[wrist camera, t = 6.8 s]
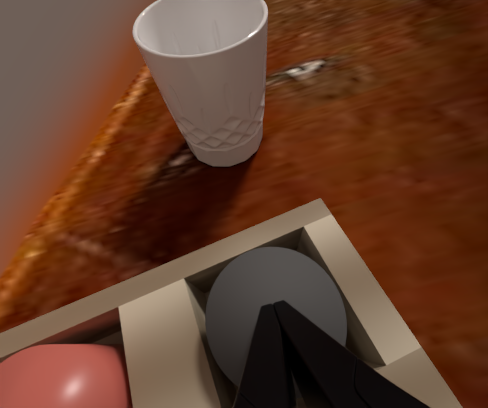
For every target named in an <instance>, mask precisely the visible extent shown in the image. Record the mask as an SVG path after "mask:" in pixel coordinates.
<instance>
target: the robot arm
mask: <svg viewBox="0 0 488 408" xmlns="http://www.w3.org/2000/svg"><path fill="white" fill-rule="evenodd" d="M291 371H292V373H291ZM292 374H293V376H294V379H295V381H296V384H297V386H298V388H299V391H300V393H301V395H302V398H303V400H304V402H305V405H306V407H307V408H431V407H429V406H428V405H426V404H424V403H423V402H421V401H420V400H418V399H417V398H415V397H413V396H412V395H410V394H409V393H407V392H406V391H404V390H403V389H401V388H400V387H398V386H397V385H395V384H394V383H392V382H391V381H389V380H388V379H386V378H385V377H384V376H382V375H381V374H379V373H378V372H377V371H375V370H374V369H373V368H371V367H370V366H369V365H367V364H366V363H365V362H364V361H362V360H361V359H360V358H357V356H356V355H354V354H353V353H352V352H351V351H349V350H348V349H347V348H345V347H344V346H343V345H341V344H340V343H339V342H338V341H336V340H335V339H334V338H332V337H331V336H330V335H329V334H327V333H326V332H325V331H323V330H322V329H321V328H320V327H318V326H317V325H316V324H314V323H313V322H312V321H311V320H309V319H308V318H307V317H305V316H304V315H303V314H302V313H300V312H299V311H298V310H296V309H295V308H294V307H292V306H291V305H290V304H289V303H287V302H286V301H285V300H281V301H277V302H274V303H273V304H271V303H270V304H266V305H263V306H261V308H260V311H259V315H258V318H257V322H256V326H255V329H254V333H253V337H252V340H251V344H250V348H249V351H248V355H247V358H246V362H245V366H244V369H243V373H242V377H241V380H240V384H239V388H238V393H237V394H236V398H235V402H234V405H233V408H298V404H297V399H296V393H295V388H294V382H293V377H292Z"/></svg>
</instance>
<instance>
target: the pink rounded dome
mask: <svg viewBox="0 0 488 408" xmlns="http://www.w3.org/2000/svg"><path fill="white" fill-rule="evenodd" d="M0 408H133V404H132V397H131V390H130V383H129V376H128V369H127V363H126V356H125V349H124V345H123V344H46V345H38V346H33V347H30V348H27V349H24V350H22V351H20V352H18V353H16V354H14V355H12V356H10V357H9V358H7V359H6V360H4V361H3V362H2V363H0Z"/></svg>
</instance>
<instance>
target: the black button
mask: <svg viewBox="0 0 488 408" xmlns="http://www.w3.org/2000/svg"><path fill="white" fill-rule="evenodd" d="M281 300H285V301H286V302H287V303H289V304H290V305H291V306H292V307H294V308H295V309H296V310H298V311H299V312H300V313H302V314H303V315H304V316H305V317H307V318H308V319H309V320H311V321H312V322H313V323H314V324H316V325H317V326H318V327H320V328H321V329H322V330H323V331H325V332H326V333H327V334H329V335H330V336H331V337H332V338H334V339H335V340H336V341H338V342H339V343H340V344H341V345H343V346H344V347H345V344H346V336H347V320H346V312H345V308H344V304H343V301H342V298H341V296H340V293H339V291H338V289H337V287H336V285H335V284H334V282H333V281H332V279H331V278H330V276H329V275H328V274H327V273H326V272H325V270H324V269H323V268H322V267H320V266H319V265H318V264H317V263H316V262H315V261H313V260H312V259H310V258H309V257H307V256H305V255H304V254H302V253H299V252H297V251H294V250H291V249H287V248H282V247H262V248H258V249H254V250H251V251H248V252H246V253H244V254H242V255H240V256H238V257H237V258H236V259H234V260H233V261H232V262H230V263H229V264H228V265H227V266H226V267H225V268H224V269H223V271H222V272H221V273H220V274H219V276H218V277H217V279H216V281H215V282H214V284H213V286H212V289H211V291H210V294H209V297H208V301H207V305H206V313H205V326H206V335H207V339H208V343H209V346H210V349H211V352H212V354H213V356H214V358H215V360H216V362H217V364H218V365H219V367H220V368H221V370H222V371H223V373H224V374H225V375H226V376H227V377H228V378H229V379H230V380H231V381H232V382H233V383H234V384H235V385H237V386H238V387H239V384H240V380H241V377H242V373H243V369H244V366H245V362H246V358H247V355H248V351H249V348H250V344H251V340H252V337H253V333H254V329H255V326H256V322H257V318H258V315H259V311H260V308H261V306H263V305H266V304H270V303H271V304H273V303H274V302H277V301H281ZM291 373H292V371H291ZM292 377H293V382H294V388H295V393H296V399H298V398H301V397H302V395H301V393H300V391H299V388H298V386H297V384H296V381H295V379H294V376H293V374H292Z"/></svg>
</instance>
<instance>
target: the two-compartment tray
mask: <svg viewBox="0 0 488 408" xmlns="http://www.w3.org/2000/svg"><path fill="white" fill-rule="evenodd" d="M262 247H282V248H287V249H291V250H294V251H297V252H299V253H302V254H304V255H305V256H307V257H309V258H310V259H312V260H313V261H315V262H316V263H317V264H318V265H319V266H320V267H322V268H323V269H324V270H325V272H326V273H327V274H328V275H329V276H330V278H331V279H332V281H333V282H334V284H335V285H336V287H337V289H338V291H339V293H340V296H341V298H342V301H343V304H344V308H345V312H346V320H347V336H346V344H345V348H347V349H348V350H349V351H351V352H352V353H353V354H354V355H356V356H357V358H360V359H361V360H362V361H364V362H365V363H366V364H367V365H369V366H370V367H371V368H373V369H374V370H375V371H377V372H378V373H379V374H381V375H382V376H384V377H385V378H386V379H388V380H389V381H391V382H392V383H394V384H395V385H397V386H398V387H400V388H401V389H403V390H404V391H406V392H407V393H409V394H410V395H412V396H413V397H415V398H417V399H418V400H420V401H421V402H423V403H424V404H426V405H428V406H429V407H431V408H462V406H461V405H460V403H459V402H458V400H457V399H456V397H455V396H454V394H453V393H452V391H451V390H450V388H449V387H448V385H447V384H446V382H445V381H444V380H443V378H442V377H441V375H440V374H439V372H438V371H437V369H436V368H435V366H434V365H433V363H432V362H431V360H430V359H429V357H428V356H427V354H426V353H425V351H424V350H423V349H422V347H421V346H420V344H419V343H418V341H417V340H416V338H415V337H414V335H413V334H412V332H411V331H410V329H409V328H408V326H407V325H406V323H405V322H404V321H403V319H402V318H401V316H400V315H399V313H398V312H397V310H396V309H395V307H394V306H393V304H392V303H391V301H390V300H389V298H388V297H387V295H386V294H385V292H384V291H383V290H382V288H381V287H380V285H379V284H378V282H377V281H376V279H375V278H374V276H373V275H372V273H371V272H370V270H369V269H368V267H367V266H366V264H365V263H364V262H363V260H362V259H361V257H360V256H359V254H358V253H357V251H356V250H355V248H354V247H353V245H352V244H351V242H350V241H349V239H348V238H347V236H346V235H345V233H344V232H343V231H342V229H341V228H340V226H339V225H338V223H337V222H336V220H335V219H334V217H333V216H332V214H331V213H330V211H329V210H328V208H327V207H326V205H325V204H324V202H323V201H322V200H321V198H319V199H317V200H315V201H312V202H310V203H308V204H305V205H303V206H300V207H298V208H296V209H293V210H291V211H289V212H286V213H284V214H282V215H279V216H277V217H274V218H272V219H270V220H267V221H265V222H263V223H260V224H258V225H256V226H253V227H251V228H248V229H246V230H244V231H241V232H239V233H237V234H234V235H232V236H230V237H227V238H225V239H222V240H220V241H218V242H215V243H213V244H211V245H208V246H206V247H204V248H201V249H199V250H196V251H194V252H192V253H189V254H187V255H185V256H182V257H180V258H178V259H175V260H173V261H170V262H168V263H166V264H163V265H161V266H159V267H156V268H154V269H152V270H149V271H147V272H144V273H142V274H140V275H137V276H135V277H133V278H130V279H128V280H126V281H123V282H121V283H118V284H116V285H114V286H111V287H109V288H107V289H104V290H102V291H100V292H97V293H95V294H92V295H90V296H88V297H85V298H83V299H81V300H78V301H76V302H74V303H71V304H69V305H67V306H64V307H62V308H59V309H57V310H55V311H52V312H50V313H48V314H45V315H43V316H41V317H38V318H36V319H33V320H31V321H29V322H26V323H24V324H22V325H19V326H17V327H15V328H12V329H10V330H7V331H5V332H3V333H0V363H2V362H3V361H4V360H6V359H7V358H9V357H10V356H12V355H14V354H16V353H18V352H20V351H22V350H24V349H27V348H30V347H33V346H38V345H46V344H123V345H124V349H125V356H126V363H127V369H128V376H129V383H130V390H131V397H132V404H133V408H233V405H234V402H235V398H236V394H237V393H238V388H239V387H238V386H237V385H235V384H234V383H233V382H232V381H231V380H230V379H229V378H228V377H227V376H226V375H225V374H224V373H223V371H222V370H221V368H220V367H219V365H218V364H217V362H216V360H215V358H214V356H213V354H212V352H211V349H210V346H209V343H208V339H207V335H206V326H205V313H206V305H207V301H208V297H209V294H210V291H211V289H212V286H213V284H214V282H215V281H216V279H217V277H218V276H219V274H220V273H221V272H222V271H223V269H224V268H225V267H226V266H227V265H228V264H229V263H230V262H232V261H233V260H234V259H236V258H237V257H238V256H240V255H242V254H244V253H246V252H248V251H251V250H254V249H258V248H262ZM297 404H298V408H307V407H306V405H305V402H304V400H303V398H302V397H301V398H298V399H297Z"/></svg>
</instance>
